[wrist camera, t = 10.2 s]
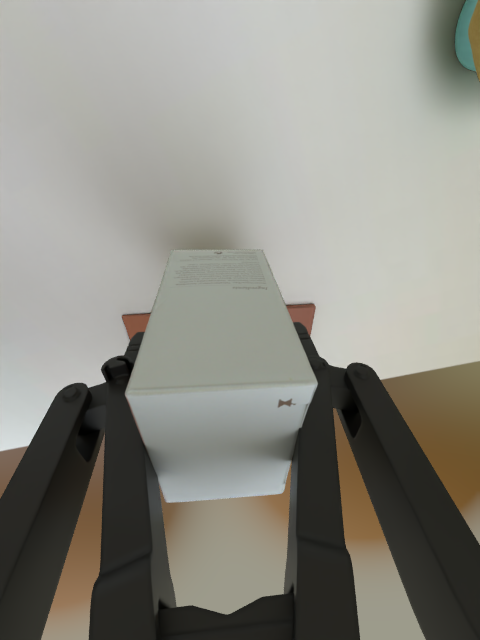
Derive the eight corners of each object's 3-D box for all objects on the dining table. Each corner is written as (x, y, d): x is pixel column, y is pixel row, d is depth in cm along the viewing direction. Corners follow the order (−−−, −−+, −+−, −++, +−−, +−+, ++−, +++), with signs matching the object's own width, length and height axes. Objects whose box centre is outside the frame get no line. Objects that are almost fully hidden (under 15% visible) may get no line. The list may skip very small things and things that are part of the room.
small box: (170, 246, 15) (117, 391, 7) (264, 247, 16) (323, 382, 7) (183, 347, 20) (161, 507, 11) (255, 345, 20) (285, 497, 12)
